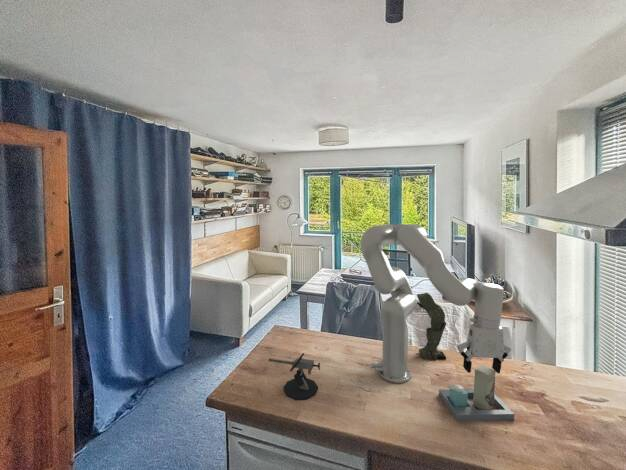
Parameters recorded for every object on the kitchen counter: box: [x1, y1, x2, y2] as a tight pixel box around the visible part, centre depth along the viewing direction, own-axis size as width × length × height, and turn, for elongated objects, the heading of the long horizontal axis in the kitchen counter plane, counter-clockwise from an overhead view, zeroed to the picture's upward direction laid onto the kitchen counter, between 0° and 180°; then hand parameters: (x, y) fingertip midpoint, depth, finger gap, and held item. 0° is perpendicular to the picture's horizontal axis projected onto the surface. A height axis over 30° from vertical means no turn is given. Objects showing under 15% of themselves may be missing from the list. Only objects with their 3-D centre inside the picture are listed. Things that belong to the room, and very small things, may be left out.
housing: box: [438, 388, 515, 422], centre depth 101 cm, size 18×13×2 cm
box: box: [472, 365, 497, 410], centre depth 100 cm, size 5×4×13 cm
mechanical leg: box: [416, 292, 447, 361], centre depth 133 cm, size 14×7×30 cm, turn 84°
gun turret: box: [268, 352, 321, 401], centre depth 111 cm, size 13×20×13 cm, turn 73°
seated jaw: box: [449, 384, 469, 407], centre depth 100 cm, size 4×4×7 cm
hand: (481, 370), depth 100 cm, fingers open, 9 cm apart
